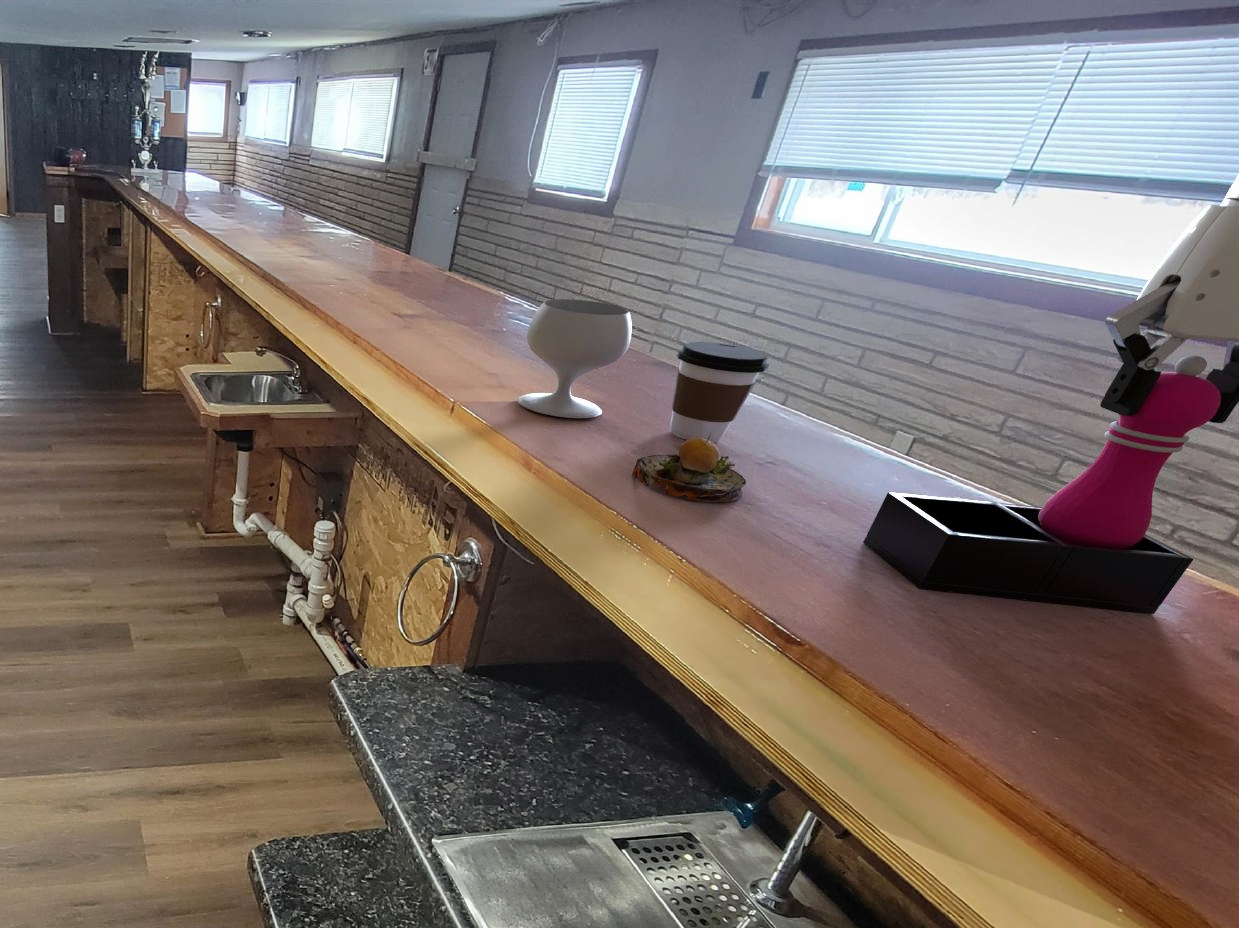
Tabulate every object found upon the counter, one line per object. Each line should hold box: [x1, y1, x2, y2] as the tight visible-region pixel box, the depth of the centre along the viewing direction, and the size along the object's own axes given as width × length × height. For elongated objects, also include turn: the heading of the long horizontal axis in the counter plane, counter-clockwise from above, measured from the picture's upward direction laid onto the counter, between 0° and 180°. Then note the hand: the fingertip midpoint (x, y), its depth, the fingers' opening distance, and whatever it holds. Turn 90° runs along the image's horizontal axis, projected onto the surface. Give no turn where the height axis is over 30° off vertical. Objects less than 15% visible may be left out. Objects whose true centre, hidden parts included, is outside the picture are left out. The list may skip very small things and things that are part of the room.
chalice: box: [517, 298, 633, 419], centre depth 123 cm, size 14×14×15 cm
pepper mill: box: [1038, 355, 1221, 549], centre depth 76 cm, size 7×7×20 cm
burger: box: [632, 432, 747, 503], centre depth 99 cm, size 12×12×8 cm
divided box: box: [863, 491, 1194, 615], centre depth 81 cm, size 20×10×6 cm, turn 80°
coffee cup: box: [670, 341, 770, 443], centre depth 115 cm, size 11×11×12 cm
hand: (1160, 413), depth 73 cm, fingers closed on pepper mill, 6 cm apart
